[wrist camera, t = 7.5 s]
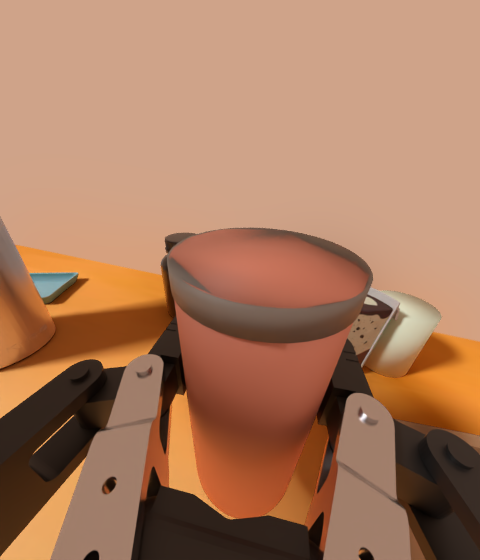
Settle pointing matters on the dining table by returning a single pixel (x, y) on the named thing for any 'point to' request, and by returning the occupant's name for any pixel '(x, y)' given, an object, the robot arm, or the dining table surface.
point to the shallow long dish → (52, 284)
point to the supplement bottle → (170, 242)
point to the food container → (372, 323)
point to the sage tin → (403, 336)
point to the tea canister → (259, 351)
